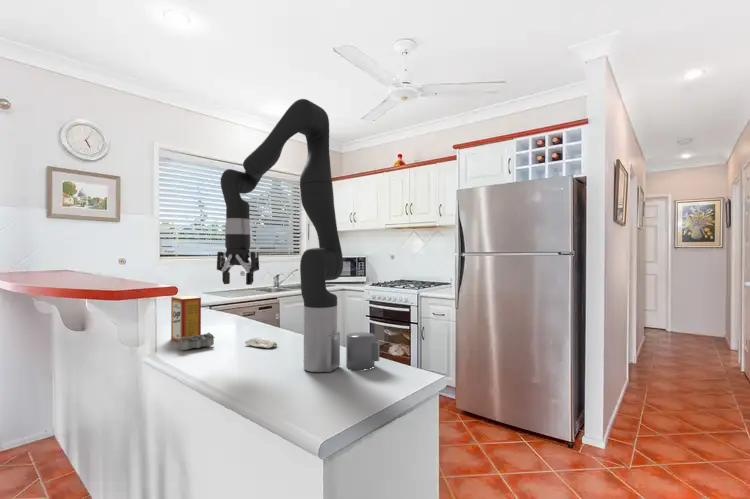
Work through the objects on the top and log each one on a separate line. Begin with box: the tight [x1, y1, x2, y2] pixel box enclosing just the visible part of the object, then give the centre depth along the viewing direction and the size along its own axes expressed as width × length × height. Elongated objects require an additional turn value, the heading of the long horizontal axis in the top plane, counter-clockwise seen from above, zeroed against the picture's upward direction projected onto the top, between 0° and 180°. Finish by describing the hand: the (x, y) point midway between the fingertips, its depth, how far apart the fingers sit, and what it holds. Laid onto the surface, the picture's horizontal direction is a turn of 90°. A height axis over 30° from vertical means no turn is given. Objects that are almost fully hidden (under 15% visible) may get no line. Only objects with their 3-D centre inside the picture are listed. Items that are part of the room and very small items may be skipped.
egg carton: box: [177, 332, 216, 351], centre depth 132 cm, size 11×8×4 cm
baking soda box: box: [170, 295, 202, 343], centre depth 144 cm, size 10×6×16 cm
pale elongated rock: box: [244, 337, 278, 349], centre depth 134 cm, size 12×5×4 cm
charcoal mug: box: [345, 331, 380, 371], centre depth 111 cm, size 9×8×9 cm
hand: (237, 284), depth 125 cm, fingers open, 8 cm apart
